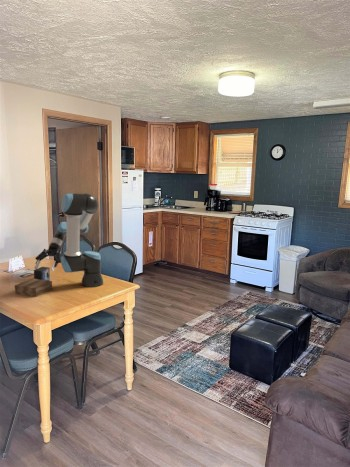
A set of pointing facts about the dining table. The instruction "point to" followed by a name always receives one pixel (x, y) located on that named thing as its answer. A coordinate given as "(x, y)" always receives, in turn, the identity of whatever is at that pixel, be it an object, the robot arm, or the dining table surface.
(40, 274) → the small box
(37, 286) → the walnut block
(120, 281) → the dining table surface
